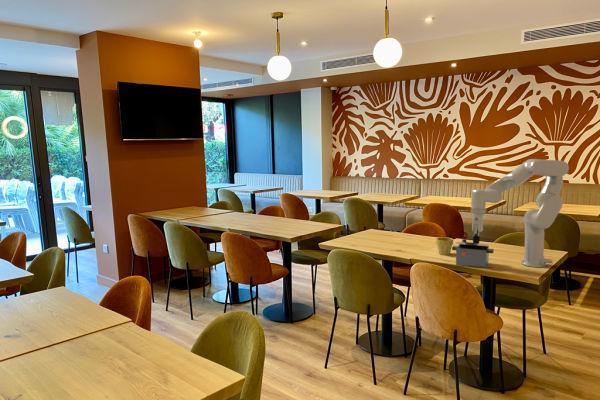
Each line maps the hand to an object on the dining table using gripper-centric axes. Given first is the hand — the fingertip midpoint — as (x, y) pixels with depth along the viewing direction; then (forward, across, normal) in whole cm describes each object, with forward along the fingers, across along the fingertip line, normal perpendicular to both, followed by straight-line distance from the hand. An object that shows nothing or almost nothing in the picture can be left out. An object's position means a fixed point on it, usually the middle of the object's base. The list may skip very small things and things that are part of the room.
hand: (476, 242), depth 247 cm
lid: (+2, +1, +2) cm, 3 cm away
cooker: (+13, +2, +2) cm, 13 cm away
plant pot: (+13, +20, +20) cm, 32 cm away
